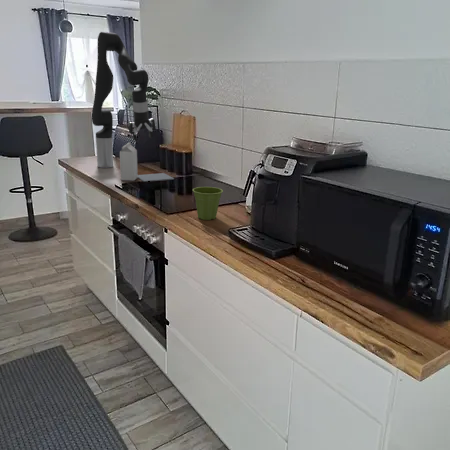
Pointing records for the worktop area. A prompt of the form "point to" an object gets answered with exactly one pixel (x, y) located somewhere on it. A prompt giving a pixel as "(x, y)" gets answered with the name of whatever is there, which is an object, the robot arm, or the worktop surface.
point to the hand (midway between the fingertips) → (143, 139)
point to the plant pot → (207, 201)
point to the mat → (154, 177)
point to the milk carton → (128, 163)
